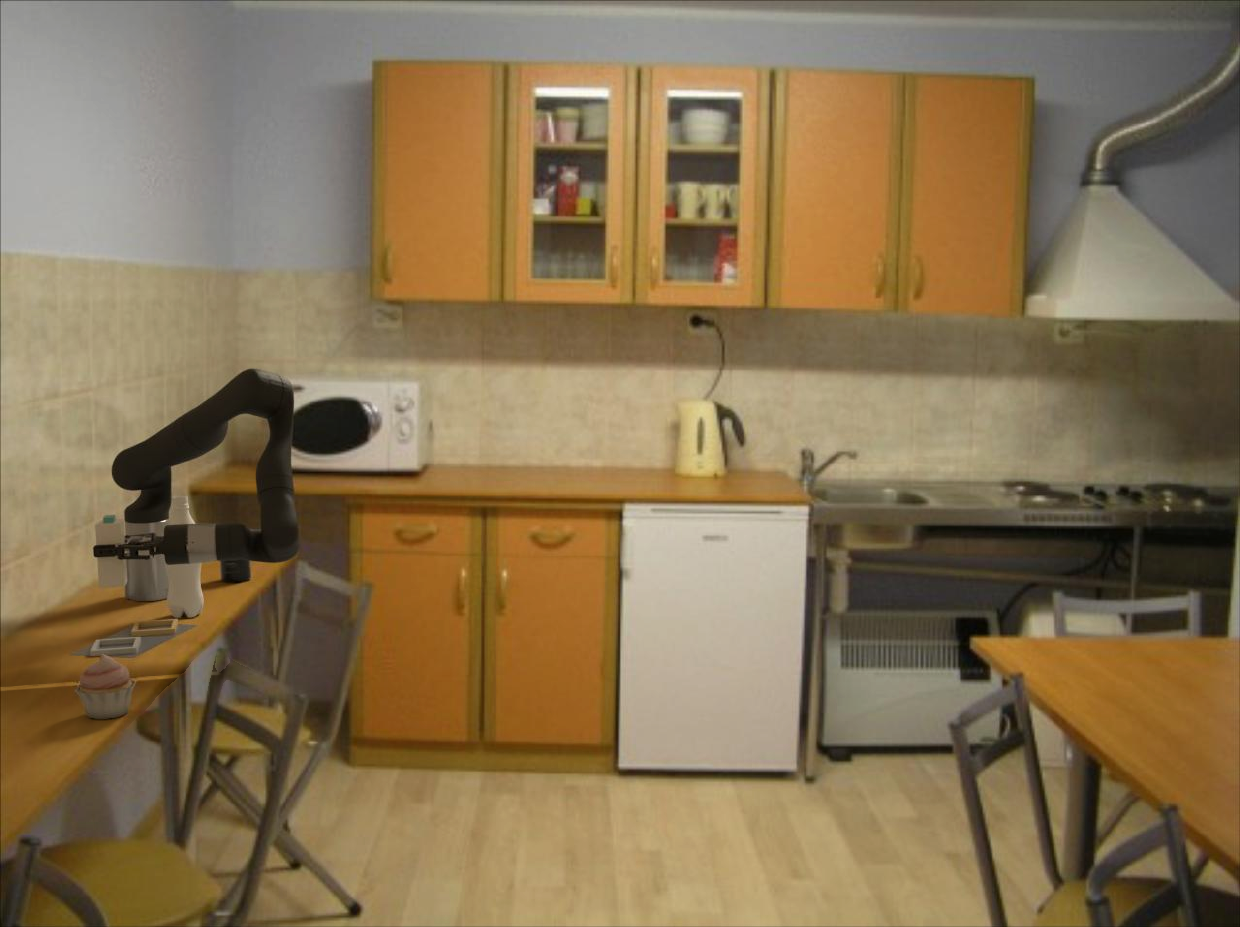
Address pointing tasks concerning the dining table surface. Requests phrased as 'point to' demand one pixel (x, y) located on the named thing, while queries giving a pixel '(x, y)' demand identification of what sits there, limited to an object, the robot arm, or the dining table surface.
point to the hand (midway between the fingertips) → (95, 548)
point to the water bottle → (183, 572)
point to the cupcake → (105, 689)
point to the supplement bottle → (235, 570)
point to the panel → (136, 639)
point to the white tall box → (111, 568)
